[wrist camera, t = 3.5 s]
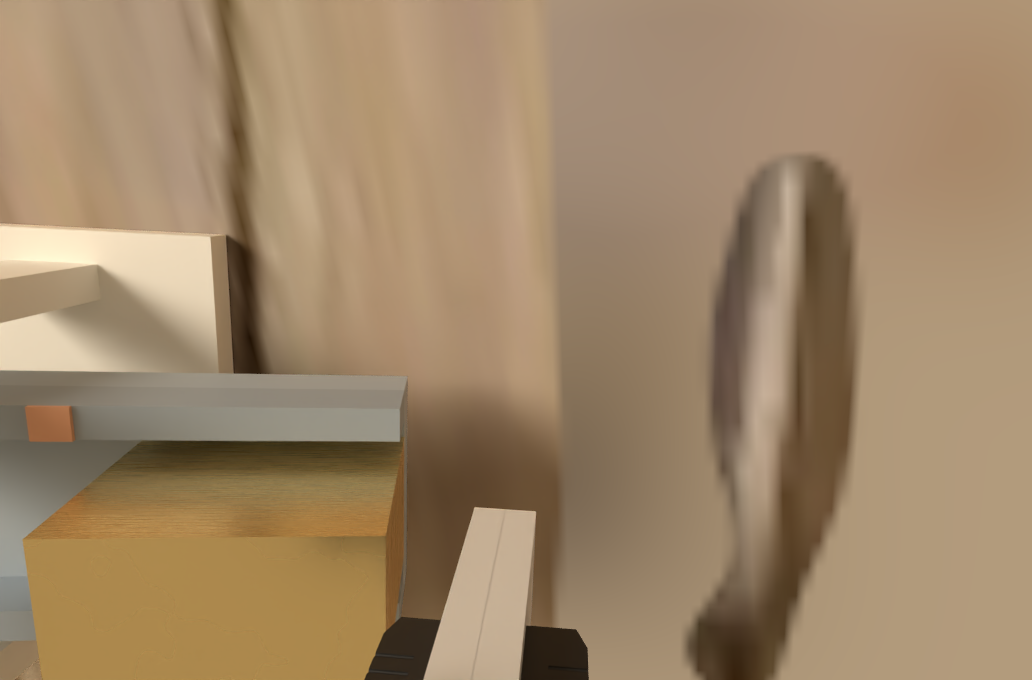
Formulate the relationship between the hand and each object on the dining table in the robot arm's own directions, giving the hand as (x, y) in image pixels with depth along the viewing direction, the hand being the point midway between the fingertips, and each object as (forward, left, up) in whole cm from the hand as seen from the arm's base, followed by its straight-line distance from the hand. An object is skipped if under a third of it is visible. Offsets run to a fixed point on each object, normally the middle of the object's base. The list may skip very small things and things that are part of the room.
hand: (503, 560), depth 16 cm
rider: (0, -7, -3) cm, 7 cm away
